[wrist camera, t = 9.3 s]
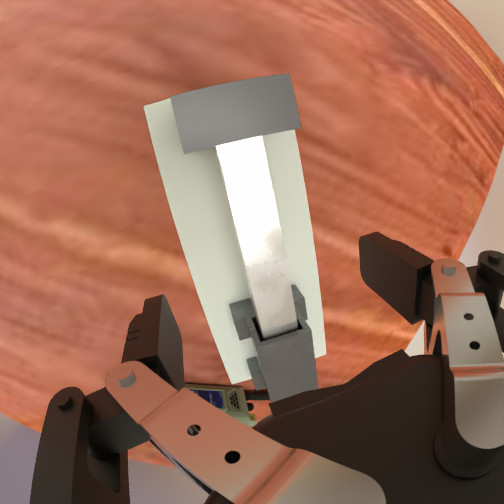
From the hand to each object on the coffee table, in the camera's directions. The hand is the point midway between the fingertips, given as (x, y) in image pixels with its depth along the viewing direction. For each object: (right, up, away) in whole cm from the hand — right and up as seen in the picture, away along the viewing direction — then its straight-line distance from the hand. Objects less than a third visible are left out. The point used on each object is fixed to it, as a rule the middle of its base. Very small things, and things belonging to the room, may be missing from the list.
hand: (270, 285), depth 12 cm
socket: (-4, +14, +15) cm, 21 cm away
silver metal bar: (0, +2, +16) cm, 16 cm away
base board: (-1, +1, +22) cm, 22 cm away
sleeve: (+2, -9, +25) cm, 27 cm away
